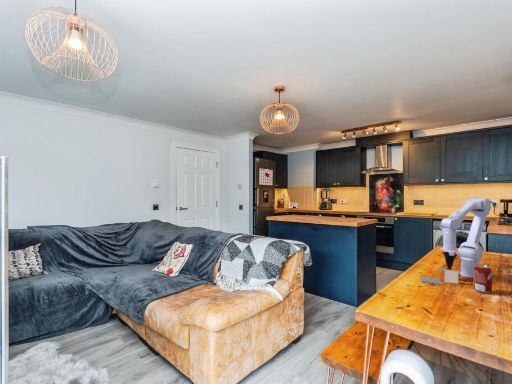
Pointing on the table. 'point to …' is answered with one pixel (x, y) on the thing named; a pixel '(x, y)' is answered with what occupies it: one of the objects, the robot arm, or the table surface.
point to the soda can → (482, 279)
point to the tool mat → (431, 280)
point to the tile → (451, 276)
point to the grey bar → (447, 269)
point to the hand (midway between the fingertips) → (449, 266)
